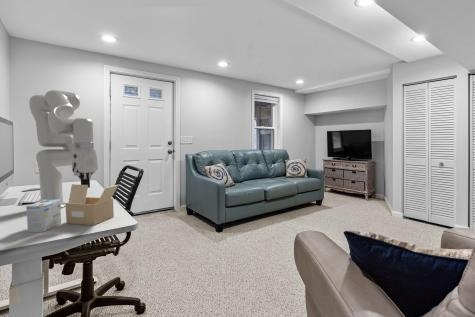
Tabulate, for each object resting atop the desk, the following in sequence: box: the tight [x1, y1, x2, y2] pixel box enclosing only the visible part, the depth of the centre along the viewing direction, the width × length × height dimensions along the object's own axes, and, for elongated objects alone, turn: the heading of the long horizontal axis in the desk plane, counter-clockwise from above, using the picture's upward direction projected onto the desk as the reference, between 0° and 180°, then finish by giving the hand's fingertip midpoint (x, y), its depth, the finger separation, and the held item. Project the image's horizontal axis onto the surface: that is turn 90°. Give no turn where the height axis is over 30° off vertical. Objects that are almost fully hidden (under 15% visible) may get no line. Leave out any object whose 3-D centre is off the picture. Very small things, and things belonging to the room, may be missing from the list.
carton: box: [65, 196, 115, 226], centre depth 110 cm, size 14×13×9 cm
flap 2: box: [97, 184, 119, 203], centre depth 108 cm, size 8×8×1 cm
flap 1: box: [68, 183, 89, 204], centre depth 105 cm, size 8×8×1 cm
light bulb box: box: [25, 199, 62, 233], centre depth 100 cm, size 11×7×11 cm, turn 5°
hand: (85, 187), depth 108 cm, fingers closed
